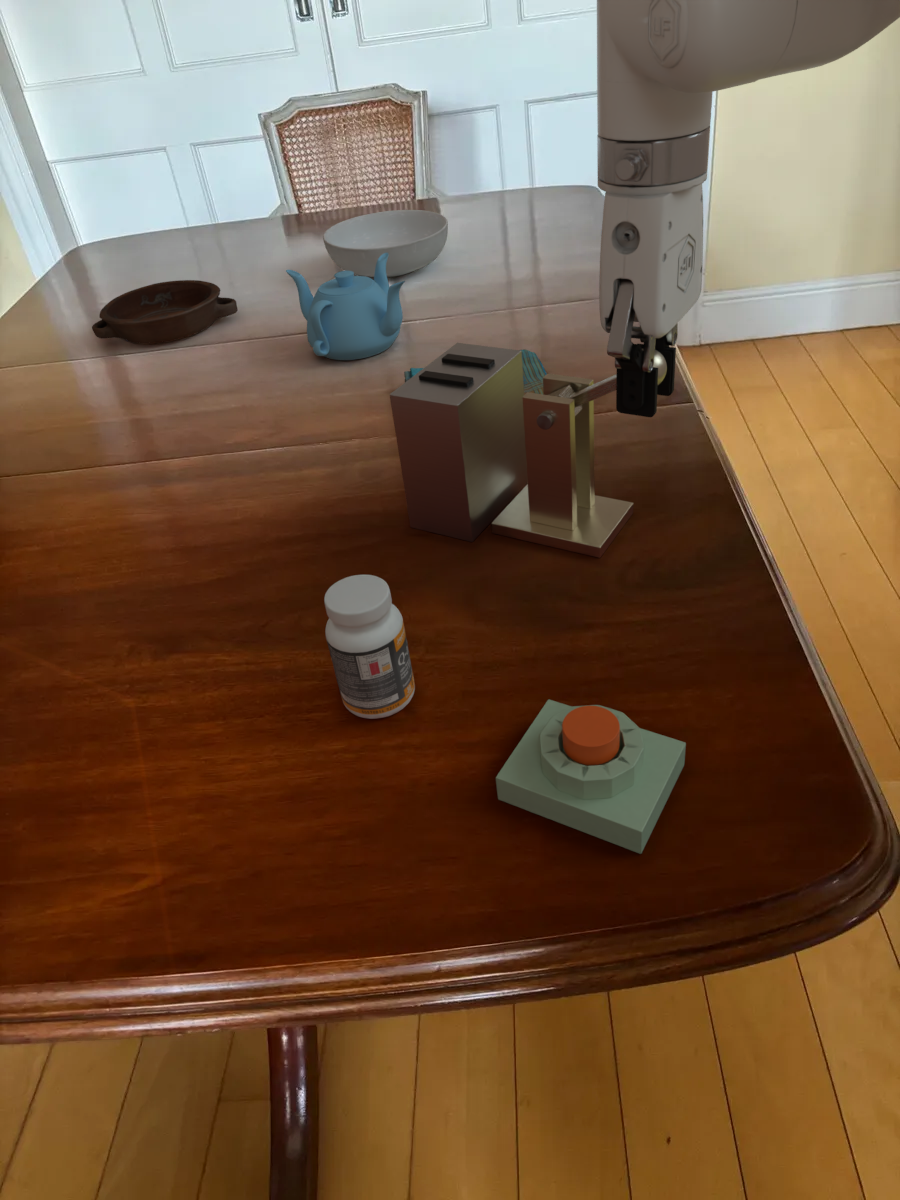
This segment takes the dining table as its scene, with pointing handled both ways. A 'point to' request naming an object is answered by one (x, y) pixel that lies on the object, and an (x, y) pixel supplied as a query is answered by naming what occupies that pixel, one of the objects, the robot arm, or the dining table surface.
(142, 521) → the dining table surface
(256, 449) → the dining table surface
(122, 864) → the dining table surface
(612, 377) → the lever
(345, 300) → the teapot
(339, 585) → the pill bottle
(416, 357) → the dining table surface
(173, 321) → the dish
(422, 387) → the toaster
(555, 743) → the timer block
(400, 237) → the serving bowl
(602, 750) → the timer button
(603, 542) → the bracket
